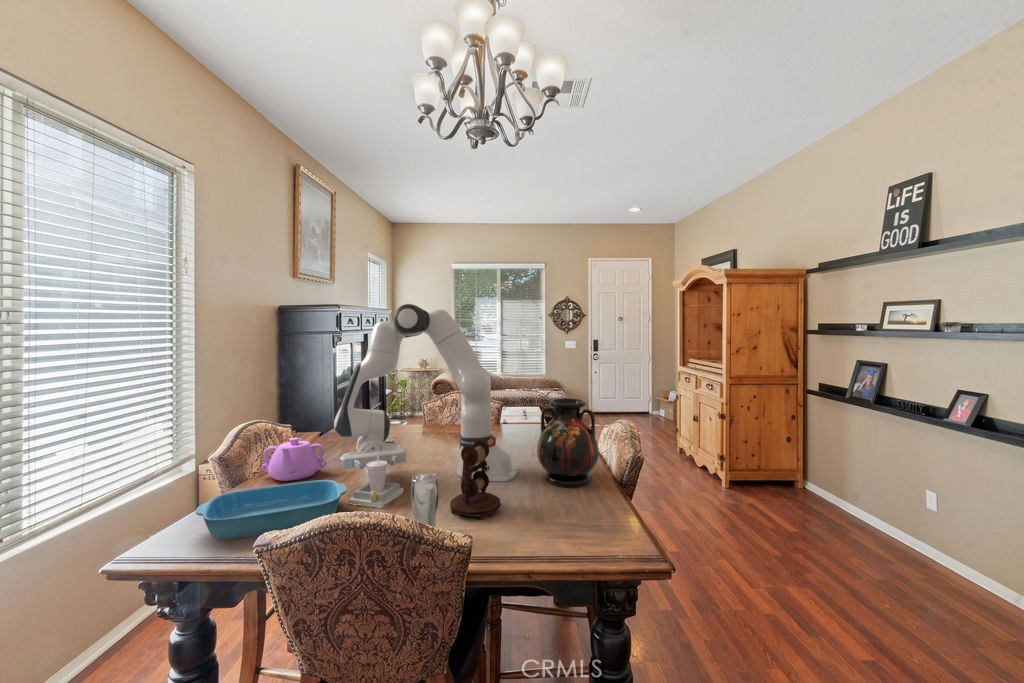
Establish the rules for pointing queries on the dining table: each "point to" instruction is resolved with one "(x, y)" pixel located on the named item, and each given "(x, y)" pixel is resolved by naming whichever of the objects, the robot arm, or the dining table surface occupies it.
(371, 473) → the smoothie
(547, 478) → the amphora vase
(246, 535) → the casserole dish
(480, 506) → the brown spool stand
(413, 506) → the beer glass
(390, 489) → the collar plate
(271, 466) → the teapot
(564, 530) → the dining table surface
